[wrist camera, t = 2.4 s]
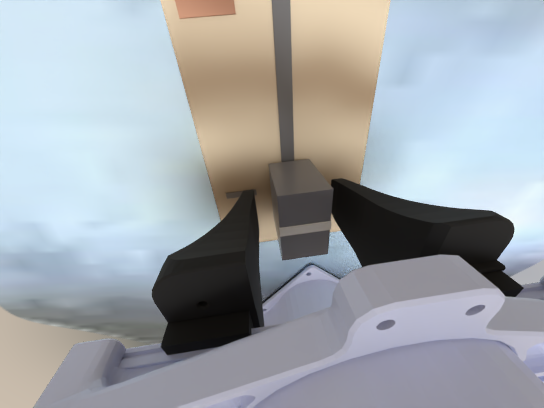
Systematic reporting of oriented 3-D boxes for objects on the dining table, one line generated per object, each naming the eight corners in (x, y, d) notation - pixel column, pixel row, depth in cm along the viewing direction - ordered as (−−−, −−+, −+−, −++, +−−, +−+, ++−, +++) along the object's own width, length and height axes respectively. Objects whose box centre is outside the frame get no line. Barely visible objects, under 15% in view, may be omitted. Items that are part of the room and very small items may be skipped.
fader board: (344, 218, 17) (352, 230, 16) (229, 234, 17) (227, 247, 16) (408, -257, 7) (449, -342, 5) (104, -252, 6) (64, -344, 5)
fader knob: (308, 212, 14) (328, 254, 11) (273, 217, 14) (282, 261, 11) (309, 158, 12) (334, 189, 9) (268, 163, 12) (276, 197, 9)
